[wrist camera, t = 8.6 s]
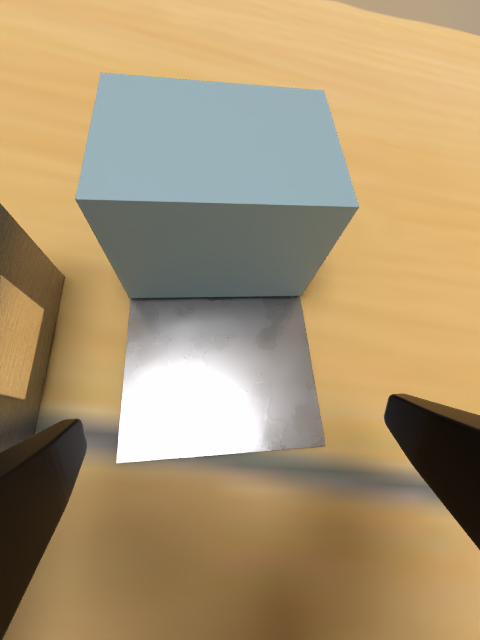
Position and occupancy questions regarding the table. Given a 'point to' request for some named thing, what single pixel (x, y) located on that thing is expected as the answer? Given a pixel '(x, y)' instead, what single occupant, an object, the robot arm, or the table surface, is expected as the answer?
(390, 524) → the table surface
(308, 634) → the table surface
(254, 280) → the pale blue box
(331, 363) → the table surface
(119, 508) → the table surface
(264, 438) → the dark grey case
